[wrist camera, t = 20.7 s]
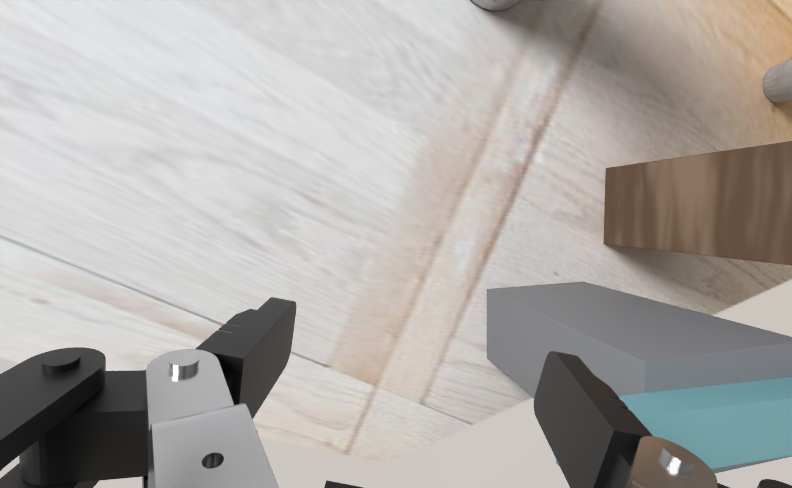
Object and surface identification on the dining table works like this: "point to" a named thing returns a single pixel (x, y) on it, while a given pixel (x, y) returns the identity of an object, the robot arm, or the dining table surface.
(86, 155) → the dining table surface
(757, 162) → the stand
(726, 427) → the block
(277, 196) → the dining table surface
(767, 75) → the house plant
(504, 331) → the block
